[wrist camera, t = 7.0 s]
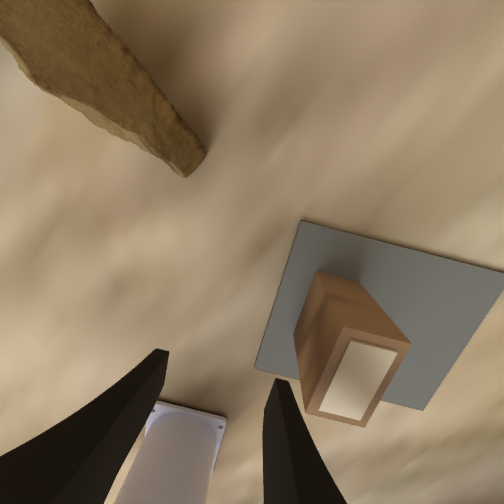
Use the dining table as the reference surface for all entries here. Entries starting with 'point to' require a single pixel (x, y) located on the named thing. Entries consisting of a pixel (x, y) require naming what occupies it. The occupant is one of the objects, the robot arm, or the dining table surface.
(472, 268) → the rubber mat
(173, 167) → the rock
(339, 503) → the robot arm
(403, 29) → the dining table surface
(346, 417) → the walnut block
